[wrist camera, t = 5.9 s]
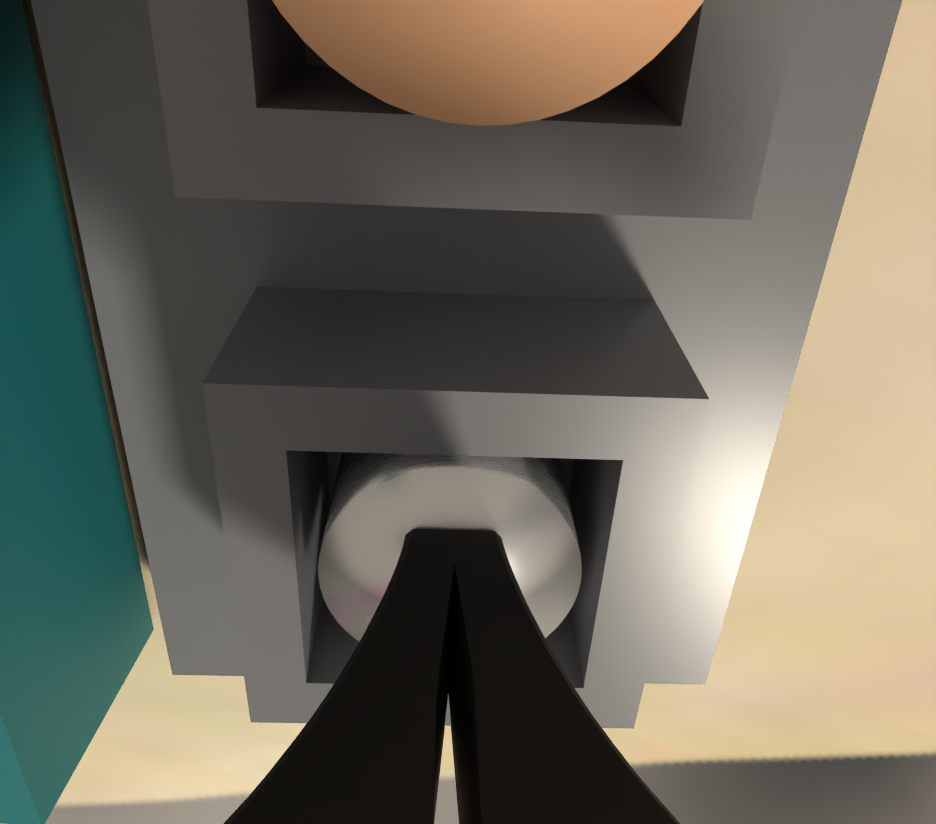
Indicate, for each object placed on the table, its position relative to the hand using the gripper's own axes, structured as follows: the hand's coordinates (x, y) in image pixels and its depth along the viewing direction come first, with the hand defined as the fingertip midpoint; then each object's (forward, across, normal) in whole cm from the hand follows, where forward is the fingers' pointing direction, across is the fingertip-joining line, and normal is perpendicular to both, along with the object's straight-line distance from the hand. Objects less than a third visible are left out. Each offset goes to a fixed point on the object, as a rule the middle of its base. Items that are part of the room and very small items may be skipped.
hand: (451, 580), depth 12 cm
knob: (+3, 0, 0) cm, 3 cm away
